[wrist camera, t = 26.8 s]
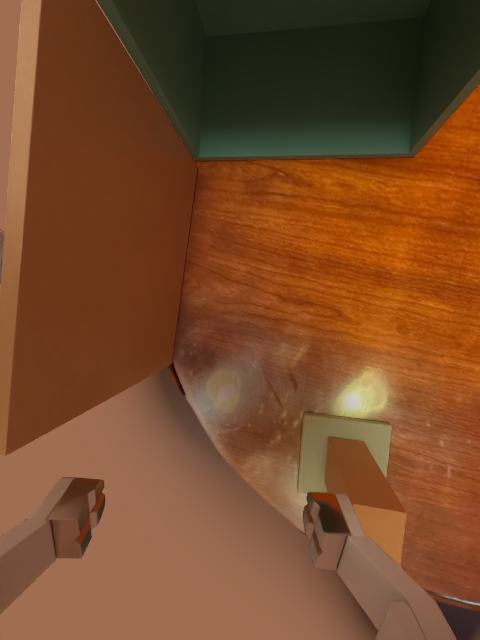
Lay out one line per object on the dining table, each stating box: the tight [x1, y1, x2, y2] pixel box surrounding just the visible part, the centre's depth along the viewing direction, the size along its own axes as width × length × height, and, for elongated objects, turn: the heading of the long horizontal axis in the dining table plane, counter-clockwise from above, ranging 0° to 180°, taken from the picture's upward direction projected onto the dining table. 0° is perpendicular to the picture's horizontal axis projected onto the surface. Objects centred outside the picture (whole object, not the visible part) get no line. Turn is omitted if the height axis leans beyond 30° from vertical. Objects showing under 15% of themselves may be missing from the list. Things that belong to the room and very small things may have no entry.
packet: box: [324, 436, 407, 566], centre depth 29 cm, size 4×6×12 cm
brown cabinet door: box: [0, 0, 198, 456], centre depth 26 cm, size 7×28×24 cm, turn 171°
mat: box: [297, 412, 392, 494], centre depth 35 cm, size 11×11×1 cm
